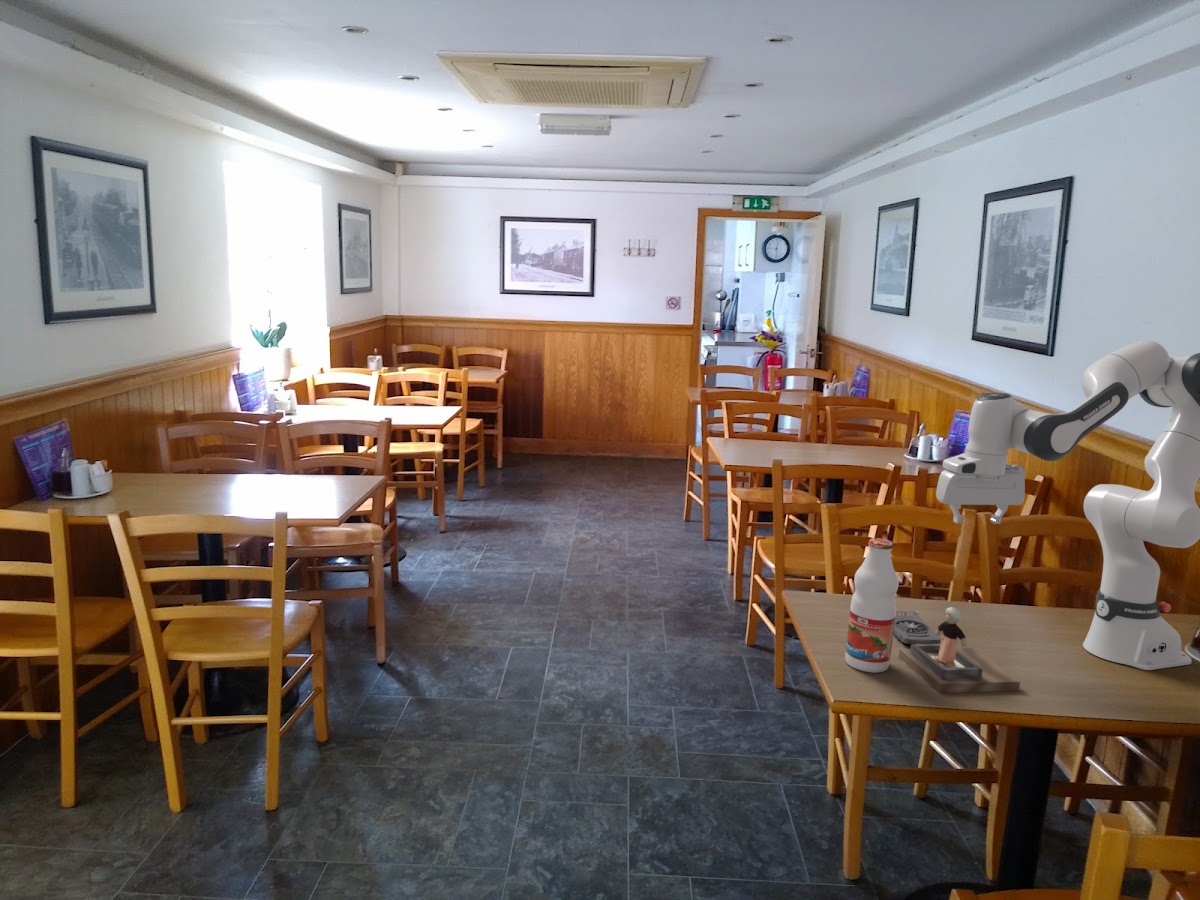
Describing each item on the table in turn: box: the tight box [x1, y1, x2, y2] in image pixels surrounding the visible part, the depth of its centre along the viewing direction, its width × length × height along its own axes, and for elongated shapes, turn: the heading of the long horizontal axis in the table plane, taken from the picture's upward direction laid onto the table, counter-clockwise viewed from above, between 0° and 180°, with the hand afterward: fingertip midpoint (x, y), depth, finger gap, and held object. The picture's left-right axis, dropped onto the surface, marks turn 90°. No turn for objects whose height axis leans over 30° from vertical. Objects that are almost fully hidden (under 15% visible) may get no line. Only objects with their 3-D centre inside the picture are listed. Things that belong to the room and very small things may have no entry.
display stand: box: [898, 643, 1021, 694], centre depth 186 cm, size 18×17×4 cm
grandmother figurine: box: [934, 606, 967, 667], centre depth 184 cm, size 8×4×13 cm, turn 39°
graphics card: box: [893, 610, 942, 645], centre depth 207 cm, size 17×4×12 cm
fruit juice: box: [844, 537, 900, 674], centre depth 186 cm, size 9×9×28 cm
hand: (976, 522), depth 199 cm, fingers open, 8 cm apart
